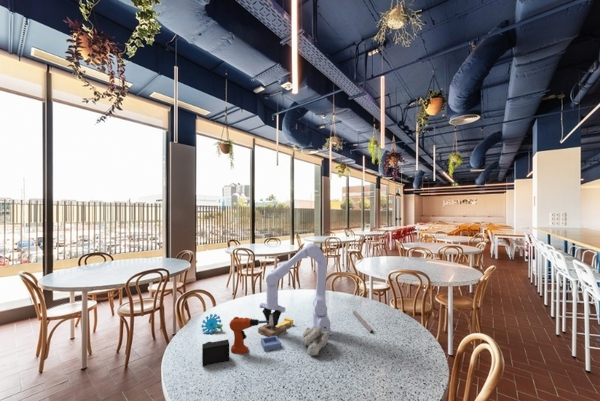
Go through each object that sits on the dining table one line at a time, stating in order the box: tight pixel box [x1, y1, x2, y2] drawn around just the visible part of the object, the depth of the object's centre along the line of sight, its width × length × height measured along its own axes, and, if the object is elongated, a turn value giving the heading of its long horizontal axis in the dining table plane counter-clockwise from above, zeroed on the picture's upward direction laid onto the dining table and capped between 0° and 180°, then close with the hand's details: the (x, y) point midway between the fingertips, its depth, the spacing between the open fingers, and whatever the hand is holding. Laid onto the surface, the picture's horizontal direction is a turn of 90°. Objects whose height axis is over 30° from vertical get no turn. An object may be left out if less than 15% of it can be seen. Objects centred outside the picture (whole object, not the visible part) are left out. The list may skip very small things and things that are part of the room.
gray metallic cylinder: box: [269, 312, 276, 330], centre depth 134 cm, size 3×3×9 cm
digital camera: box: [201, 339, 230, 367], centre depth 109 cm, size 10×5×7 cm, turn 112°
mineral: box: [302, 327, 330, 357], centre depth 118 cm, size 12×17×10 cm
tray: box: [260, 336, 282, 352], centre depth 120 cm, size 8×8×2 cm
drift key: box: [276, 317, 294, 328], centre depth 140 cm, size 5×10×3 cm, turn 140°
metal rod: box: [352, 310, 375, 334], centre depth 145 cm, size 2×27×2 cm, turn 7°
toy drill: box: [229, 316, 269, 355], centre depth 115 cm, size 5×19×15 cm, turn 79°
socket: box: [257, 323, 290, 337], centre depth 136 cm, size 10×15×2 cm, turn 140°
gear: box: [200, 313, 223, 335], centre depth 137 cm, size 11×6×10 cm
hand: (272, 324), depth 134 cm, fingers open, 4 cm apart
